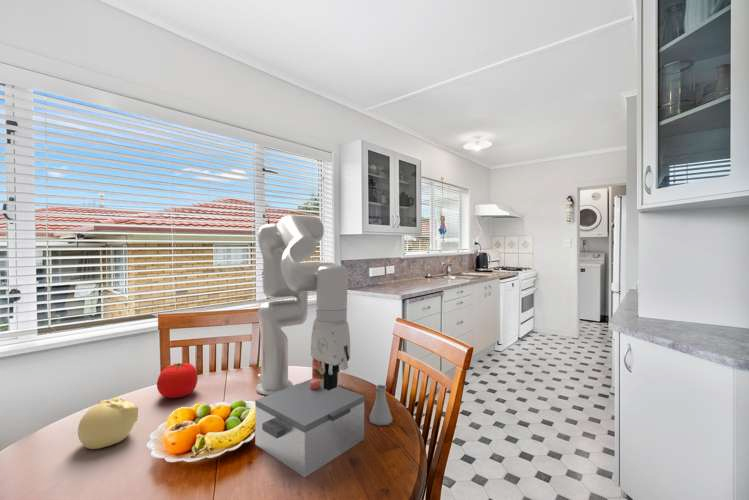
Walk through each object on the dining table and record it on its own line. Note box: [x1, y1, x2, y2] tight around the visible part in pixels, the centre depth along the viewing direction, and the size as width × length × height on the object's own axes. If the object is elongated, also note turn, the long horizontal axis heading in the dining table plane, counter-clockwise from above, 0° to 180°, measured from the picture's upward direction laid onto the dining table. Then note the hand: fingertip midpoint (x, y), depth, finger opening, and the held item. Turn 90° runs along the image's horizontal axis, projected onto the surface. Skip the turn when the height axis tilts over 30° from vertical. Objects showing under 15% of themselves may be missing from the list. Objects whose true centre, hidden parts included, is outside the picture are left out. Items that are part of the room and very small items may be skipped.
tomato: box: [156, 362, 199, 399], centre depth 118 cm, size 12×13×11 cm
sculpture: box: [77, 396, 139, 450], centre depth 90 cm, size 11×12×11 cm
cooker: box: [254, 401, 365, 478], centre depth 90 cm, size 20×25×10 cm
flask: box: [368, 384, 394, 426], centre depth 102 cm, size 7×7×10 cm
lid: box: [254, 378, 365, 433], centre depth 90 cm, size 22×20×4 cm
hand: (330, 387), depth 86 cm, fingers closed
